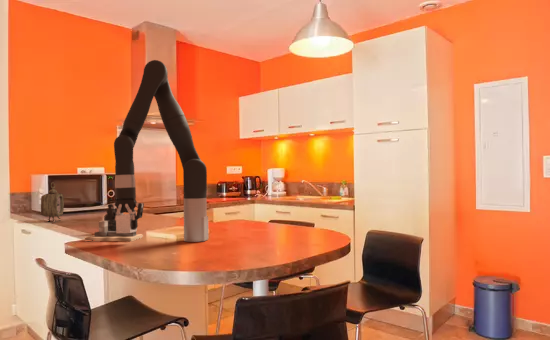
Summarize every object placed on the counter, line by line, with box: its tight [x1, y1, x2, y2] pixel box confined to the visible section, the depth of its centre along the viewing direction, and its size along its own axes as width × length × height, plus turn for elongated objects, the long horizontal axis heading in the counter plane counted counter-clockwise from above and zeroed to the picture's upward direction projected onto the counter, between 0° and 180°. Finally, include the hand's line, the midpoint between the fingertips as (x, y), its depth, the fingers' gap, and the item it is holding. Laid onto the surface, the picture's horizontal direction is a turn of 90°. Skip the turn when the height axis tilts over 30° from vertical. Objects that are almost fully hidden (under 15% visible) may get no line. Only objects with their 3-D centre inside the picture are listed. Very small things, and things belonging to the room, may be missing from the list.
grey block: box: [116, 213, 138, 233], centre depth 154 cm, size 6×6×7 cm
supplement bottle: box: [103, 207, 118, 231], centre depth 186 cm, size 7×7×12 cm
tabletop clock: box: [40, 181, 65, 222], centre depth 249 cm, size 14×9×25 cm, turn 12°
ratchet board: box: [84, 220, 144, 242], centre depth 167 cm, size 20×11×8 cm, turn 84°
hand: (126, 229), depth 154 cm, fingers closed on grey block, 5 cm apart
